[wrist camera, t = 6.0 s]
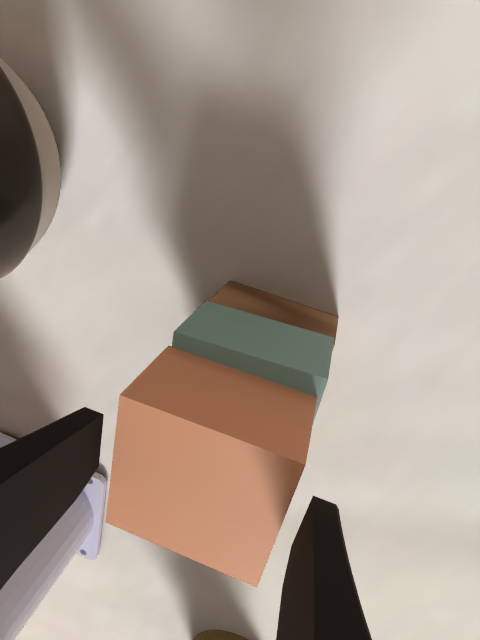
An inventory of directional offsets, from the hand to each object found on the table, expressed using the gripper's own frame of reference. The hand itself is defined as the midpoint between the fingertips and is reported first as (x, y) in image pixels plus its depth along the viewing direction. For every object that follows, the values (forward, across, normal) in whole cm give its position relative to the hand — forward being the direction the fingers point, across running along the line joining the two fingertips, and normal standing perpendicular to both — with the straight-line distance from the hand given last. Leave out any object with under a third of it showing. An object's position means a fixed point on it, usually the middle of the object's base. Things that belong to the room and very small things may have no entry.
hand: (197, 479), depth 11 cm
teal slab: (+6, 0, 0) cm, 6 cm away
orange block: (+3, 0, 0) cm, 3 cm away
